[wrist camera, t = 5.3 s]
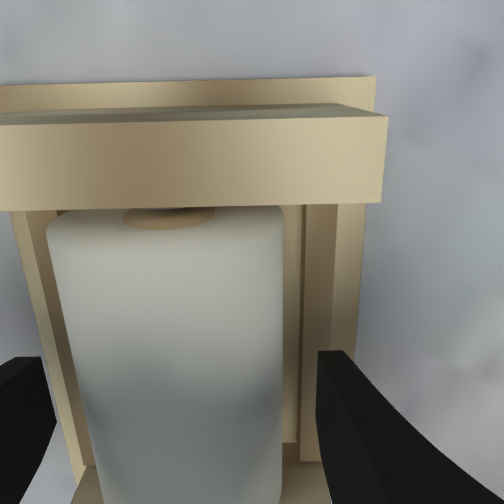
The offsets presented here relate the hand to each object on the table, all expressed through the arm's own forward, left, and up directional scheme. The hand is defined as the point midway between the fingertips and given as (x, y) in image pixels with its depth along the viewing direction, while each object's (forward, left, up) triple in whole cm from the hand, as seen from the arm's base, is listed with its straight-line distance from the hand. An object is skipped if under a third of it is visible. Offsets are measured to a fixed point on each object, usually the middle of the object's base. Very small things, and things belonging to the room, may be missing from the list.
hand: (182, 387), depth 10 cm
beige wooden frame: (0, 0, -4) cm, 4 cm away
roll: (0, 0, -3) cm, 3 cm away
